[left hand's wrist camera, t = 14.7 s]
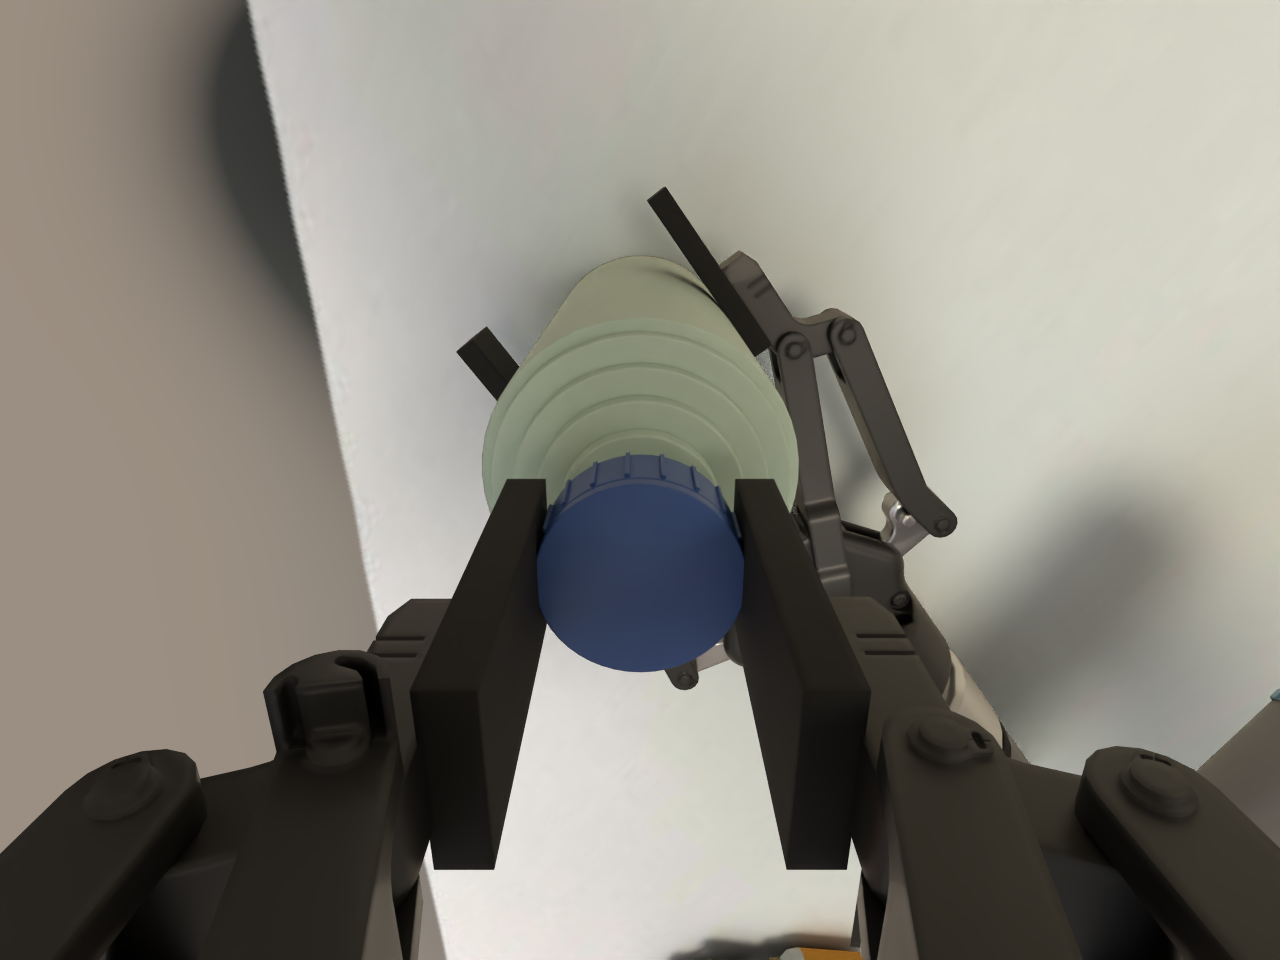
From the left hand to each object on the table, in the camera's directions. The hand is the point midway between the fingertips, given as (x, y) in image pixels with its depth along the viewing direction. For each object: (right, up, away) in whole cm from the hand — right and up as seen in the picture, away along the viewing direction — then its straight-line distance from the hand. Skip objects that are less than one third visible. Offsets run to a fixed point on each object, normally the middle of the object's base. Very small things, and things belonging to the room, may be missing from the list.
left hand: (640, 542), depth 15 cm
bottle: (0, +8, +19) cm, 20 cm away
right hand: (-3, +9, +12) cm, 15 cm away
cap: (0, 0, -1) cm, 1 cm away
